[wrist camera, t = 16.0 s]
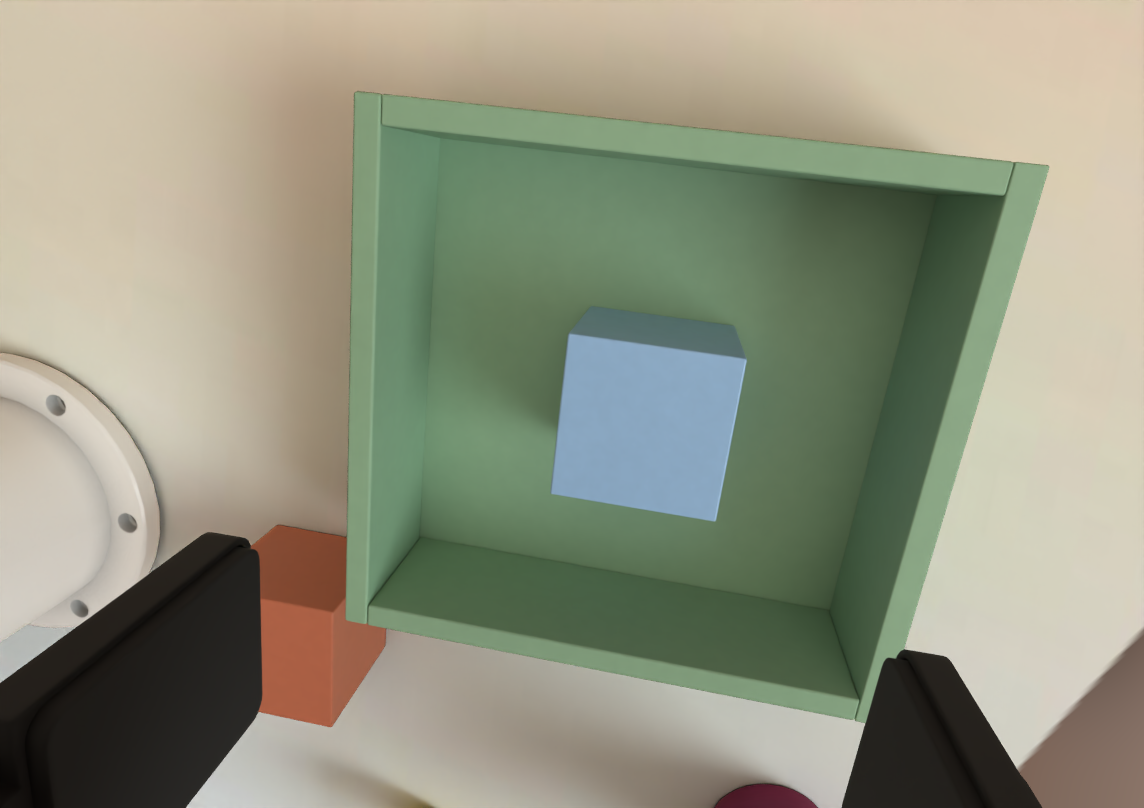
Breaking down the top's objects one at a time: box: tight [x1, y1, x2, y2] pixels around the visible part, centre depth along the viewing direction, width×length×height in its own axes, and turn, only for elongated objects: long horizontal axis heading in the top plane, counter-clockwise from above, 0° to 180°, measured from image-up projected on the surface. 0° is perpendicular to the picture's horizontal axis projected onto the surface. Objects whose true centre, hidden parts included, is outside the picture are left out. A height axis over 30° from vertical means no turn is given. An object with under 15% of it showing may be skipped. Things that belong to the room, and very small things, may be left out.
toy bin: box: [345, 91, 1049, 723], centre depth 23 cm, size 18×17×6 cm
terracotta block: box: [251, 525, 386, 727], centre depth 28 cm, size 5×5×5 cm
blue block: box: [550, 306, 747, 521], centre depth 23 cm, size 5×5×5 cm
